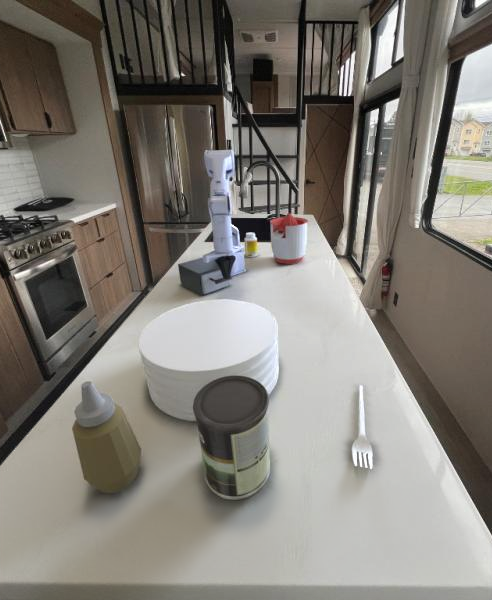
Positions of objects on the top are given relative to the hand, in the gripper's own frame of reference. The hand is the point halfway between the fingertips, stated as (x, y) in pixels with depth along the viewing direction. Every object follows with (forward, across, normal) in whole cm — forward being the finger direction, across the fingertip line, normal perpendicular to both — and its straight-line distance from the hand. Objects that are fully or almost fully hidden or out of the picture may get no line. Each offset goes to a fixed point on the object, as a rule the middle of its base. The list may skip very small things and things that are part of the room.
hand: (226, 278), depth 105 cm
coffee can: (+7, -37, -52) cm, 64 cm away
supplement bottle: (+7, +34, +28) cm, 44 cm away
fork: (+7, -16, -61) cm, 63 cm away
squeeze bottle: (+7, -51, -40) cm, 65 cm away
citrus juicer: (+7, +40, +11) cm, 42 cm away
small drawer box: (+7, 0, +14) cm, 15 cm away
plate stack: (+7, -26, -30) cm, 40 cm away
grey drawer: (+6, 0, +10) cm, 11 cm away
